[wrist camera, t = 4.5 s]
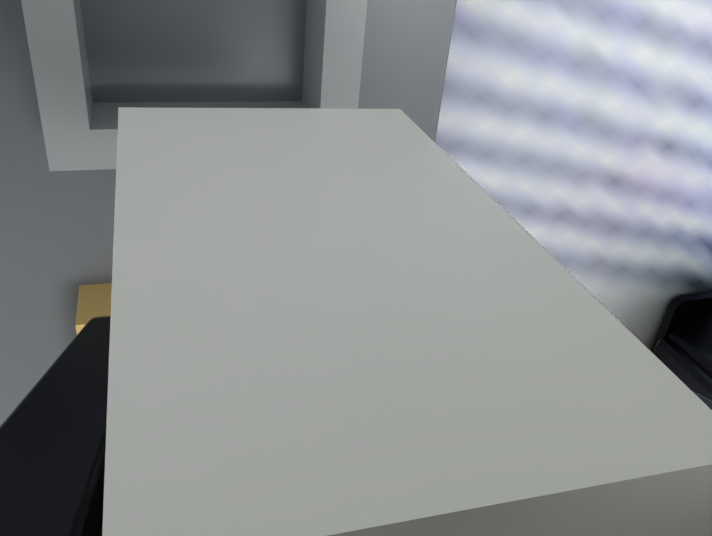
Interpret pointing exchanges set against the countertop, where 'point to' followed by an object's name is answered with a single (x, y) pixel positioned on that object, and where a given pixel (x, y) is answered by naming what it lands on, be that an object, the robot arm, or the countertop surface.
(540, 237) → the countertop surface
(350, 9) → the multicoloured flat piece
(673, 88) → the countertop surface
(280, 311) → the plug
